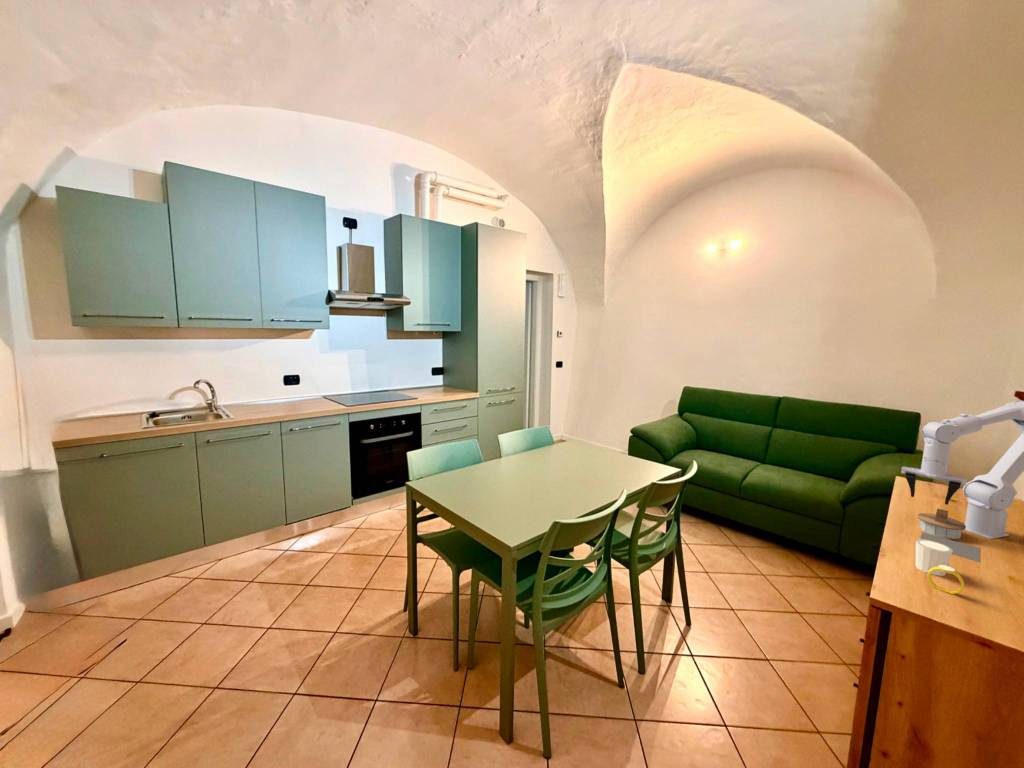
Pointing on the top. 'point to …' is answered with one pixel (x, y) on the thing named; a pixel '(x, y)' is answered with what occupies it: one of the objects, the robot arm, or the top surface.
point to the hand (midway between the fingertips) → (929, 499)
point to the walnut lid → (941, 520)
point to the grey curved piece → (940, 531)
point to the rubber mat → (956, 547)
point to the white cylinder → (932, 555)
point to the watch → (947, 570)
